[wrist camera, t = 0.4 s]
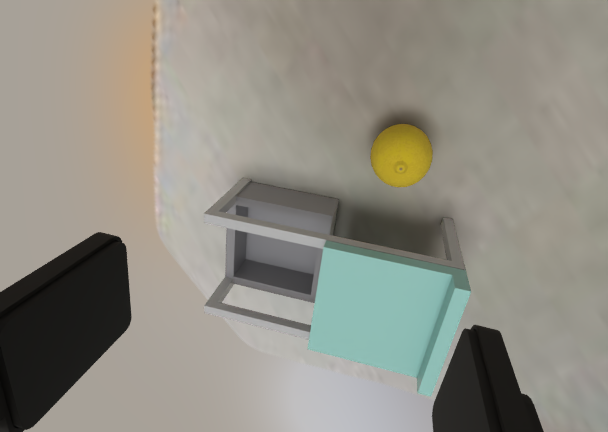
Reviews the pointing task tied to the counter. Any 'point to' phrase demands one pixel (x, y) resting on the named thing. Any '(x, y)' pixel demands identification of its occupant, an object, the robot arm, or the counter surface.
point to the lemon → (401, 155)
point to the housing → (286, 248)
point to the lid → (387, 311)
